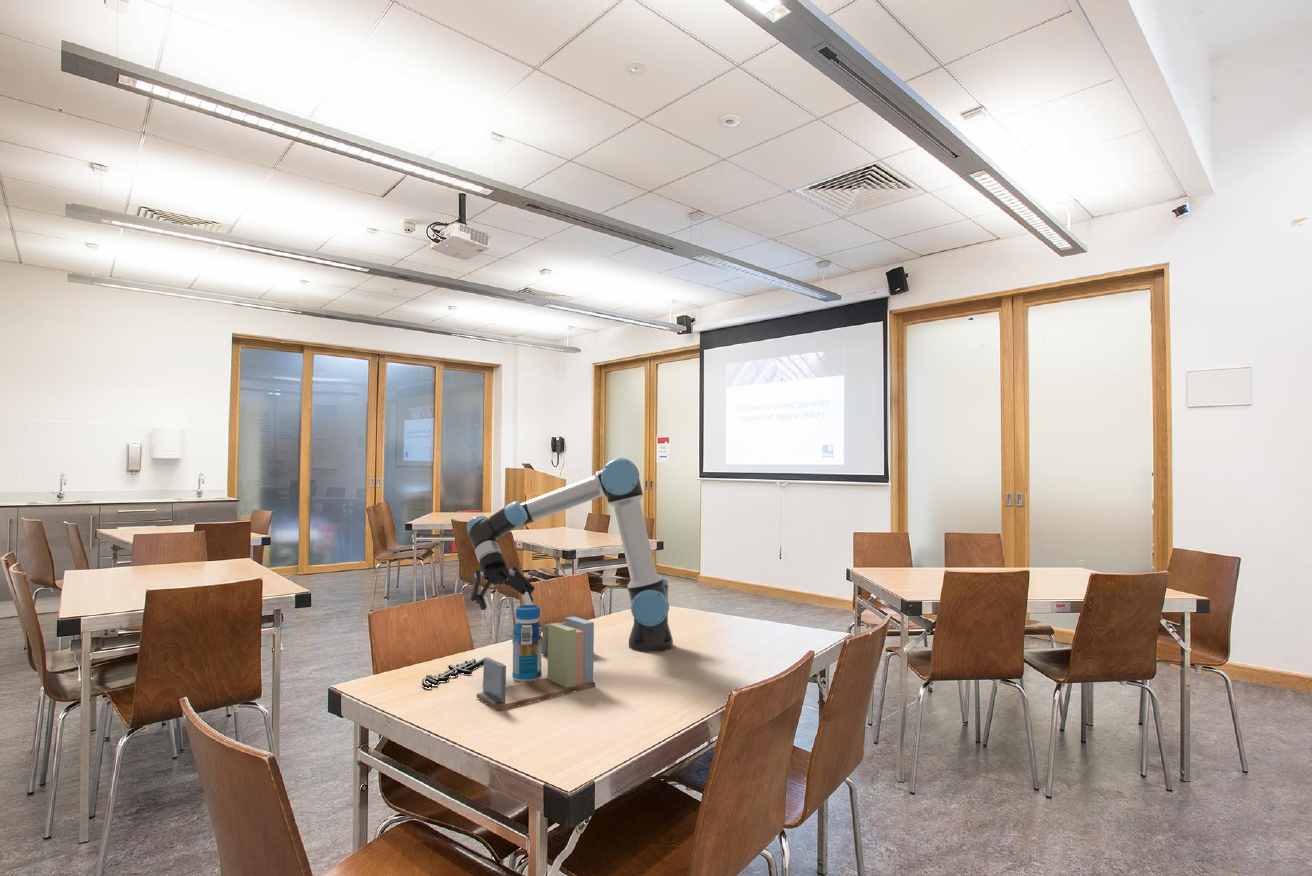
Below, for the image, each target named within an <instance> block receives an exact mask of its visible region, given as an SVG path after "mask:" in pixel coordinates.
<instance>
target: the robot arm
mask: <svg viewBox="0 0 1312 876" xmlns="http://www.w3.org/2000/svg"><path fill="white" fill-rule="evenodd" d="M640 480H641V479H640V472H639V469H638V468H637V466H636V464H635V463H634V462H632V461H631V460H630V459H628V458H624V457H618V458H613V459H610V460H609V461H608V462H607V463H606V464H605V465H604V466H603V468H602V469H600V470H598V471H596V472H595V474H594V475H592V476H590V477H587V478H585V479H582V480H580V481H577V482H574V483H572V484H568V485H566V486H563V487H560V488H557V489H556V490H553V491H551V492H547V493H545V494H542V495H540V496H538V497H537V496H536V497H535V498H531V499H529V500H527V501H524V502H521V503H520V502H519V501H513V502H511V503H508V504H507V505H505V506H504V507H503V508H501V509H499V510H498V511H497V512H495V513H494V514H492V515H491V516H488V517H487V516H485V515H478V516H477V517H476V516H474V517H473V518H471V519H469V521H468V522H467V524H466V531H467V533H468V538H469V541H470V543H471V545H472V547H473V550H474V553H475V555H476V559H477V561H478V565H479V568H480V570H481V571H480V570H479V569H477V570H476V571H475V572H474V574H473V580H474V581H473V587H472V592H471V595H470V601H471V602H474V601H475V603H476V604H478V605H479V607H480V610H481V611H483V612H484V614H485V617H486V619H487V622H488V621H491V620H492V618H493V616H494V613H493V611H492V608H491V604H490V602H489V600H488V597H487V596H485V594H486V593H487V590H488V589H489V587H490V586H491V585H494V586H495V585H496V586H497V585H503V584H504V585H506V586H509V587H510V588H512V589H513V590H515V591H517V592H518V593H520V594H521V595H522V597H521V598H522V599H523V602H524V605H534V604H533V602H534V598H533V595H532V594H533V592H534V591H535V586H534V585H533V584H532V583H531V582H529V580H528V579H527V578H526V577H525V576H523V574H522V573H521V572H520V571H519V570H518V568H517V567H516V566H513V567H512V568H510V569H509V568H508V567H507V565H506V561H505V558H504V556H503V554H502V550H501V549H500V546H499V543H498V539H500V538H502V537H503V536H504V535H506V534H507V533H509V532H511V531H512V530H515V529H519V528H522V527H525V526H526V525H529V524H531V523H533V522H536V521H539V520H541V519H545V518H548V517H550V516H552V515H554V514H558V513H560V512H563V511H567V510H569V509H572V508H574V507H576V506H579V505H582V504H585V503H587V502H590V501H592V500H595V499H598V498H601V497H604V498H606V499H607V504H608V505H610V506H612V508H613V509H614V512H615V518H616V522H617V525H618V531H619V535H620V539H621V543H622V544H621V545H622V548H623V552H624V556H625V560H626V564H627V568H628V573H629V578H630V581H629V582H628V584H627V591H628V594H629V600H630V604H631V605H630V607H631V608H630V611H631V614H632V616H633V625H632V628H631V632H630V635H629V638H628V647H629V648H630V649H631V648H632V649H631V650H634V651H638V652H647V651H655V652H662V651H668V650H671V649H672V648H674V641H673V640H674V639H673V635H672V632H671V629H670V626H669V622H668V621H669V612H670V611H669V610H670V604H669V582H668V579H667V578H663V577H662V576H661V575H660V574H658V573H657V570H656V566H655V561H654V557H653V553H652V548H651V543H650V540H649V535H648V531H647V527H646V522H645V518H644V514H643V508H642V505H641V499H642V497H643V496H644V493H643V489H642V483H641V481H640ZM482 578H484V579H485V580H486V582H485V584H484V586H483V588H482V590H481V591H480V594H479V589H480V583H481V580H482ZM670 648H671V649H670Z"/></svg>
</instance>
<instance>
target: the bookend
mask: <svg viewBox="0 0 1312 876" xmlns="http://www.w3.org/2000/svg"><path fill="white" fill-rule="evenodd" d="M483 659H484V665H483V676H482V677H483V679H482V680H483V681H482V683H483V684H482V693H481V692H478V693H479V695H480V696H482V697H483V698H485V699H487V700H488V701H490V702H492V703H494V704H499V703H500V704H502V703H505V697H506V687H507V685H506V684H507V665H505V664H504V663H500V662H499V661H497V660H495V659H493V658H490V657H489V656H487V657H483Z"/></svg>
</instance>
